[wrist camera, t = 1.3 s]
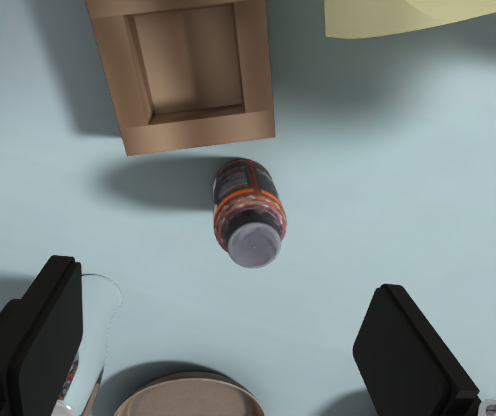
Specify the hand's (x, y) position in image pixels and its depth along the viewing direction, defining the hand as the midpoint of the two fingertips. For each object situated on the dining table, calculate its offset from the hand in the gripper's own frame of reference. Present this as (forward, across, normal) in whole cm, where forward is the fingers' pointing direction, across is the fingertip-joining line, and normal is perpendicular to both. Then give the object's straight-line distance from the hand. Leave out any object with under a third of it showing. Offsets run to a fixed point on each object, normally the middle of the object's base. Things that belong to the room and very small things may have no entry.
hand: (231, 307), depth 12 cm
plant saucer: (+25, -2, +41) cm, 48 cm away
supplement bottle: (+25, -3, +6) cm, 26 cm away
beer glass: (+25, +11, +21) cm, 35 cm away
